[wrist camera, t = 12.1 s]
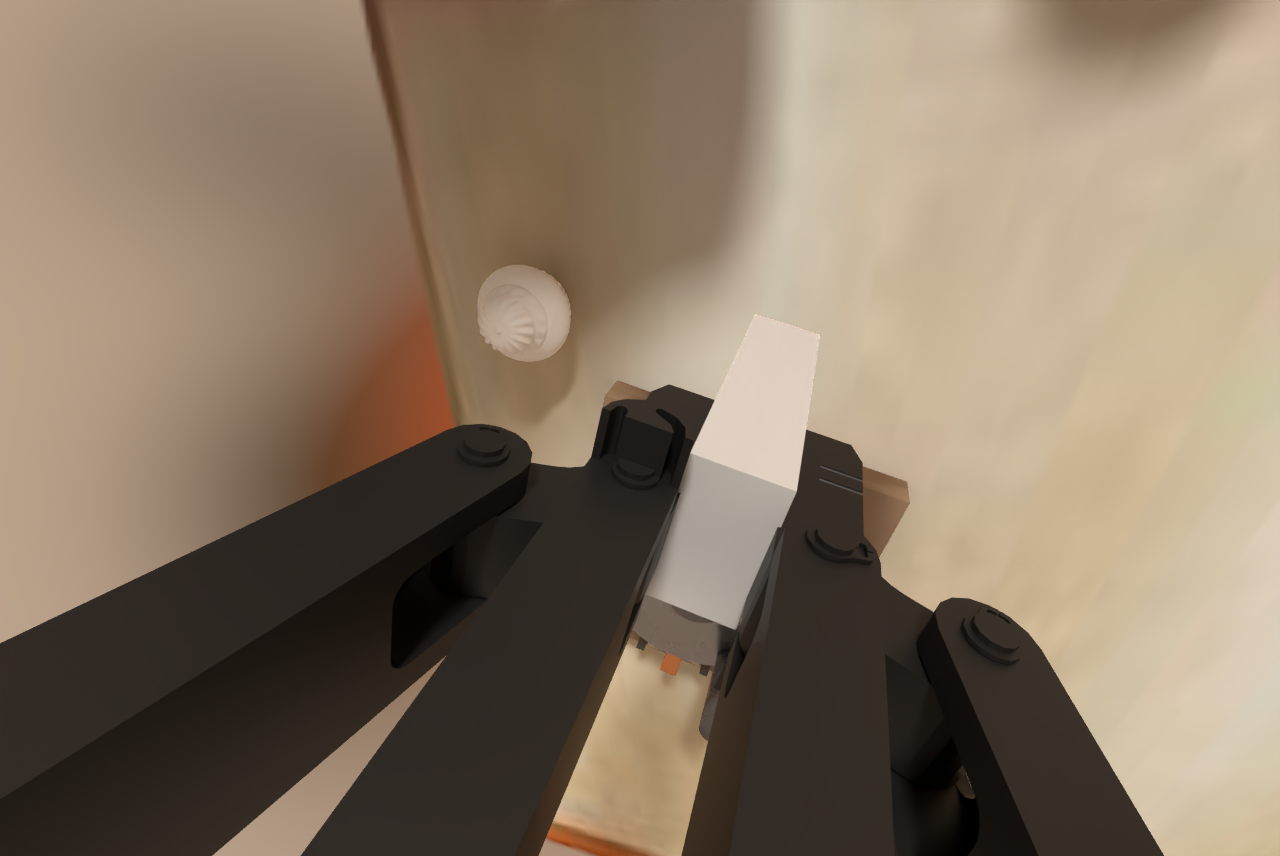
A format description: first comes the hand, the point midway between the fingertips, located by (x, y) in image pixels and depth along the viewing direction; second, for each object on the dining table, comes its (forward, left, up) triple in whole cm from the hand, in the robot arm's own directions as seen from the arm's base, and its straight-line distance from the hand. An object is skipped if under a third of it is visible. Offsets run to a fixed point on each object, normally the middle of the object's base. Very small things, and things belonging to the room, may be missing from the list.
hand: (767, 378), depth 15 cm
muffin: (-15, -10, -25) cm, 31 cm away
